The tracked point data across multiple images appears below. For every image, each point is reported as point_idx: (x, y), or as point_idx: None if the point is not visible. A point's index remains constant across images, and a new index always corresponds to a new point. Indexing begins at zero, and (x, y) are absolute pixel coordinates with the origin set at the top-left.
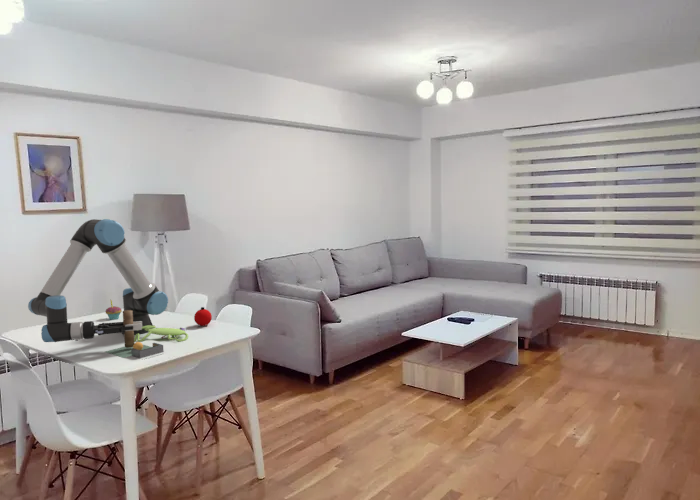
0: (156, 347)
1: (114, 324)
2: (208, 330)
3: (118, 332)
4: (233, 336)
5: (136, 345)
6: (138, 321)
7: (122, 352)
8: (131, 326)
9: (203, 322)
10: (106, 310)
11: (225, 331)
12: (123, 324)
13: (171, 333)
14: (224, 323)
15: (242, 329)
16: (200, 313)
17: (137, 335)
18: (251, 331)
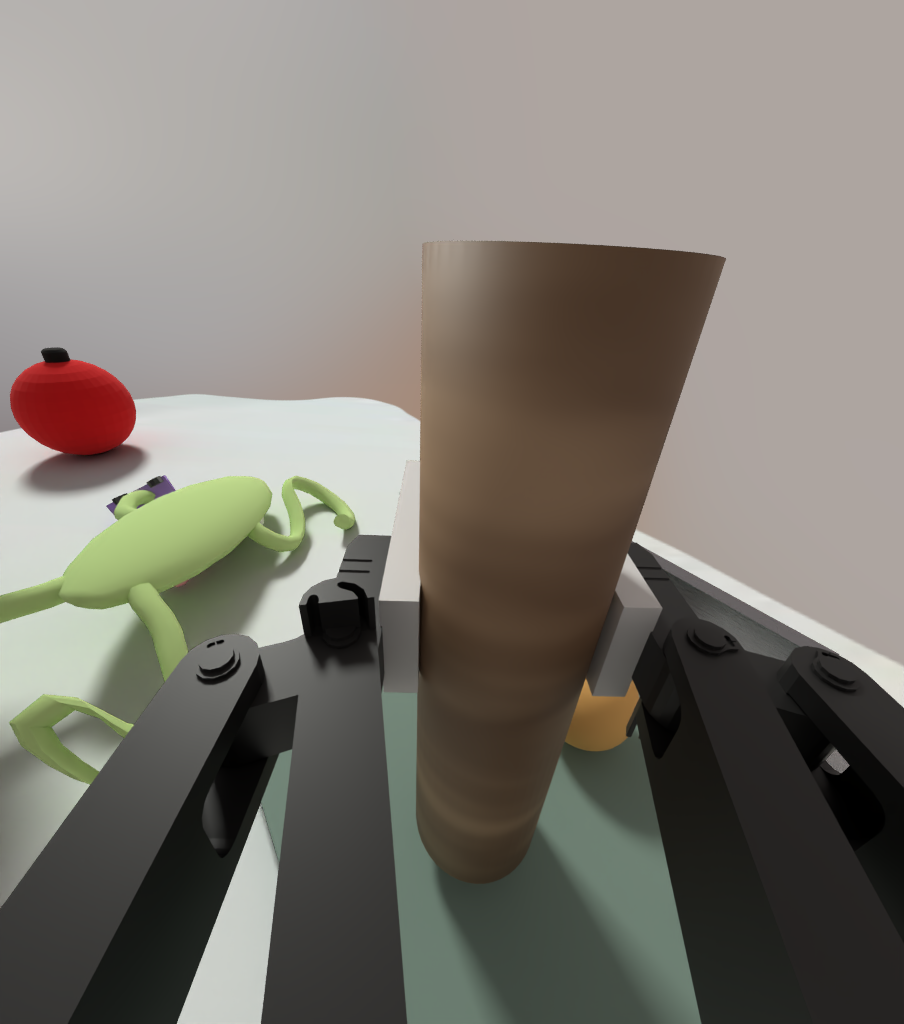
0: (671, 568)
1: (402, 994)
2: (221, 449)
3: (857, 815)
4: (392, 423)
5: (637, 691)
6: (405, 480)
7: (627, 924)
8: (643, 554)
9: (127, 428)
10: None
11: (296, 426)
12: (552, 647)
13: (258, 513)
14: (153, 417)
15: (309, 406)
16: (89, 382)
17: (54, 723)
18: (356, 401)
